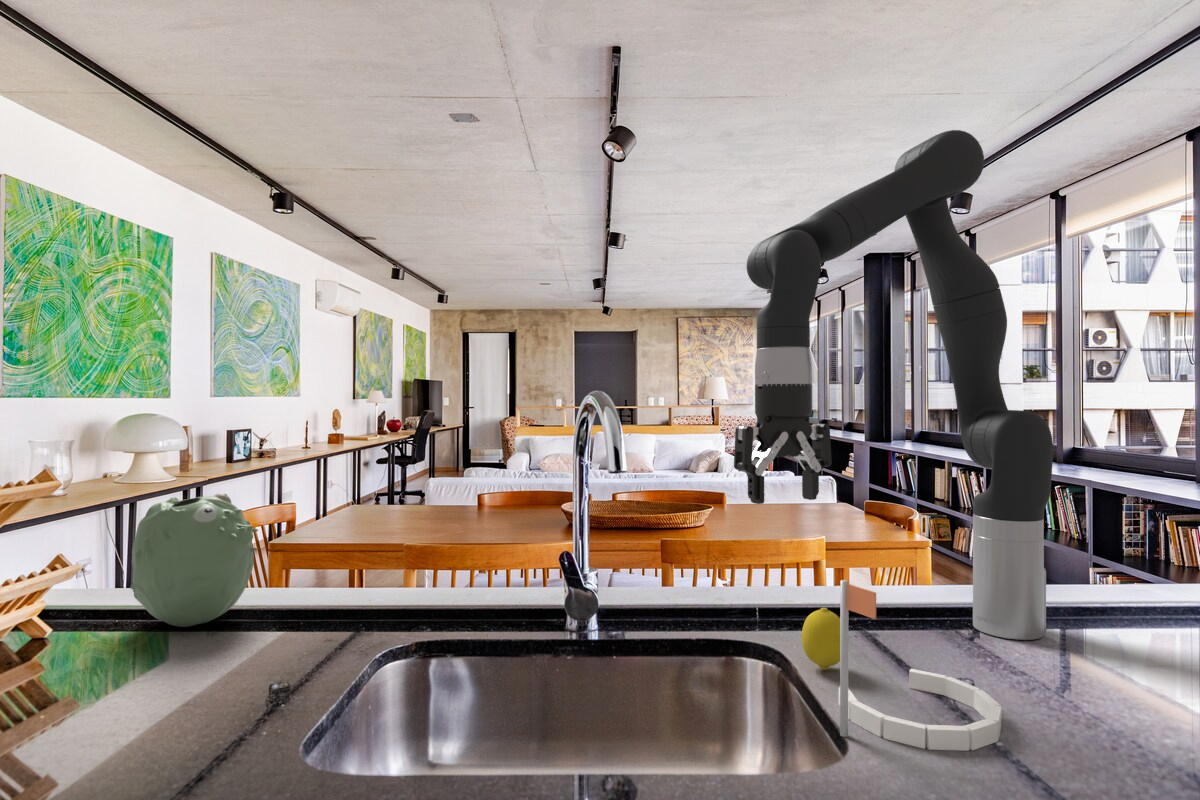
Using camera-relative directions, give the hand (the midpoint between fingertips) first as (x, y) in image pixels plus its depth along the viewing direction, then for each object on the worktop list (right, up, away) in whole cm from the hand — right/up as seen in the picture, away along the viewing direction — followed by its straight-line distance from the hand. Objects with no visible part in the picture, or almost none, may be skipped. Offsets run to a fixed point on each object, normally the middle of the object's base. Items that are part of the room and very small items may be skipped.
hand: (783, 501), depth 95 cm
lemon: (+4, -21, -5) cm, 22 cm away
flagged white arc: (+9, -21, -19) cm, 30 cm away
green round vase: (-88, -21, +13) cm, 91 cm away
